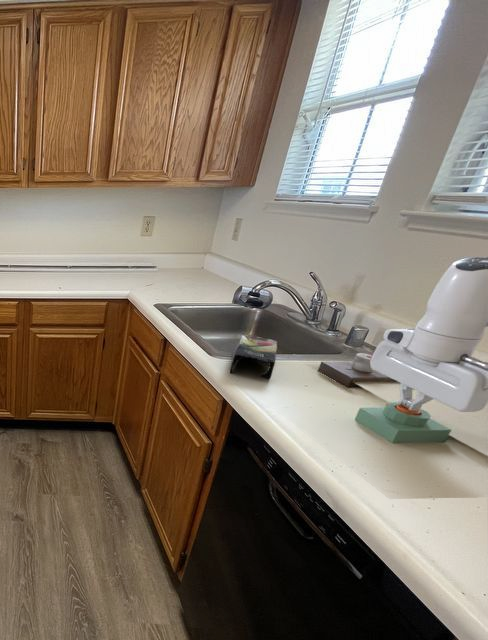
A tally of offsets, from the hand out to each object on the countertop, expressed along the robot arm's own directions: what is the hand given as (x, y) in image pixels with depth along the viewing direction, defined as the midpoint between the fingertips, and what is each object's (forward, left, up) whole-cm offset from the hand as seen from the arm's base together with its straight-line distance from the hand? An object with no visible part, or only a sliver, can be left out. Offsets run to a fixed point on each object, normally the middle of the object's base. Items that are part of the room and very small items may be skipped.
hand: (407, 408), depth 85 cm
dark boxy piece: (+11, -33, -6) cm, 35 cm away
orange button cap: (0, 0, -2) cm, 2 cm away
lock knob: (-12, -24, -2) cm, 27 cm away
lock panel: (-12, -24, -5) cm, 27 cm away
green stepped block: (0, 0, -5) cm, 5 cm away
